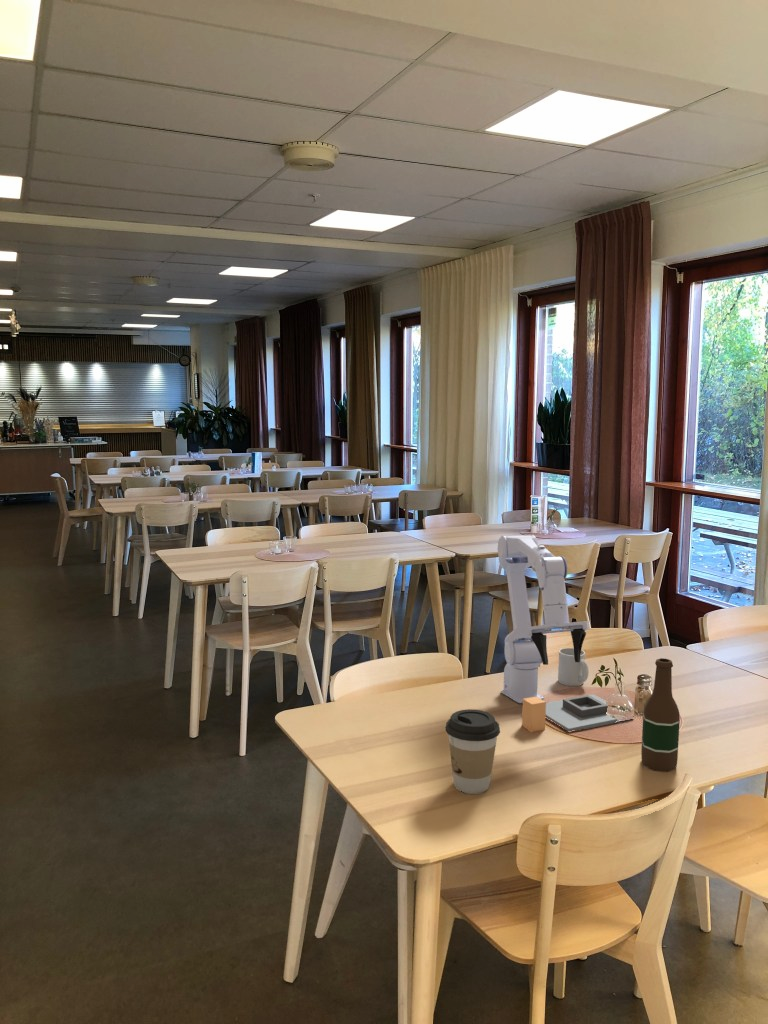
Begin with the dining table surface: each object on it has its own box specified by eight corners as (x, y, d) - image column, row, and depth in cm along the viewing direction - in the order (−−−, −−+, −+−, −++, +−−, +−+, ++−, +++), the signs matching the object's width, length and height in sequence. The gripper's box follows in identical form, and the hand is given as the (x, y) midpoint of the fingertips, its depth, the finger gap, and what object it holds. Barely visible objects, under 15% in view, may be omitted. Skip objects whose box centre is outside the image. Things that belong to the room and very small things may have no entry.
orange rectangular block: (522, 725, 201) (522, 698, 200) (535, 723, 202) (536, 696, 201) (531, 732, 197) (532, 704, 196) (545, 729, 199) (545, 701, 198)
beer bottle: (672, 775, 175) (678, 668, 171) (636, 766, 179) (641, 661, 175) (680, 761, 181) (686, 658, 178) (645, 753, 185) (650, 652, 182)
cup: (571, 676, 236) (572, 646, 235) (596, 686, 227) (597, 656, 226) (552, 680, 232) (553, 650, 231) (577, 691, 224) (578, 660, 223)
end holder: (531, 709, 211) (531, 698, 211) (593, 697, 219) (593, 687, 219) (568, 732, 197) (568, 720, 196) (633, 719, 205) (634, 708, 204)
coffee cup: (435, 779, 173) (435, 712, 171) (481, 769, 177) (482, 704, 175) (460, 803, 163) (461, 732, 160) (509, 792, 167) (511, 723, 165)
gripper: (521, 607, 194) (526, 665, 191) (581, 601, 188) (588, 660, 185) (529, 610, 201) (535, 665, 198) (588, 603, 194) (595, 661, 191)
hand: (561, 663), depth 192 cm, fingers open, 7 cm apart
